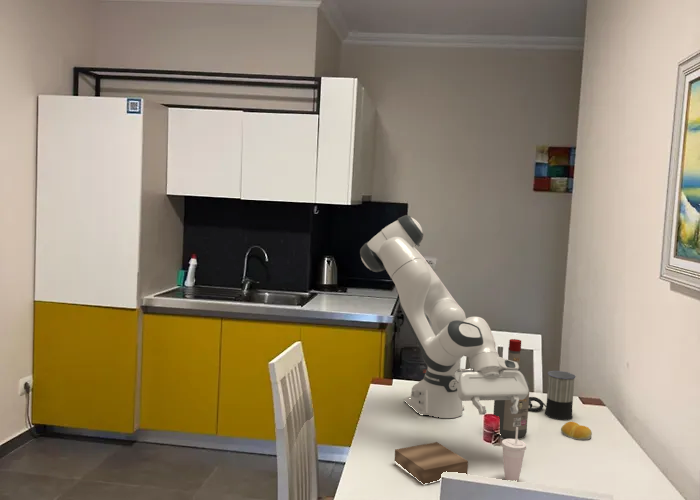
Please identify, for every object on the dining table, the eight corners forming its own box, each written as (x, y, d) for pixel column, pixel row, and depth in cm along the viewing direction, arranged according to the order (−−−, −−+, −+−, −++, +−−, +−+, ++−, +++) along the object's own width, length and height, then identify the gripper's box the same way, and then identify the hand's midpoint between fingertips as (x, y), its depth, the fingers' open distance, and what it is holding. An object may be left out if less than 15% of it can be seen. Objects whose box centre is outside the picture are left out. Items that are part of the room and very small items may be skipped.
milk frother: (576, 421, 211) (579, 378, 210) (529, 419, 212) (532, 376, 211) (563, 407, 226) (566, 367, 224) (519, 405, 226) (522, 365, 225)
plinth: (394, 463, 171) (395, 449, 171) (436, 455, 178) (436, 442, 177) (423, 485, 159) (424, 469, 158) (467, 475, 165) (468, 461, 165)
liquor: (530, 437, 195) (536, 343, 192) (506, 440, 191) (512, 344, 189) (512, 427, 203) (518, 336, 201) (488, 430, 200) (494, 337, 197)
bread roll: (583, 443, 192) (584, 430, 192) (557, 434, 199) (558, 422, 199) (596, 437, 198) (597, 425, 198) (570, 428, 205) (571, 416, 204)
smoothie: (520, 486, 160) (523, 433, 159) (495, 479, 164) (499, 427, 163) (527, 477, 166) (530, 426, 165) (503, 471, 169) (507, 420, 168)
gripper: (455, 363, 175) (467, 409, 167) (523, 362, 179) (537, 407, 171) (449, 374, 180) (459, 419, 171) (514, 373, 184) (528, 417, 175)
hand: (499, 413), depth 171 cm, fingers open, 8 cm apart
